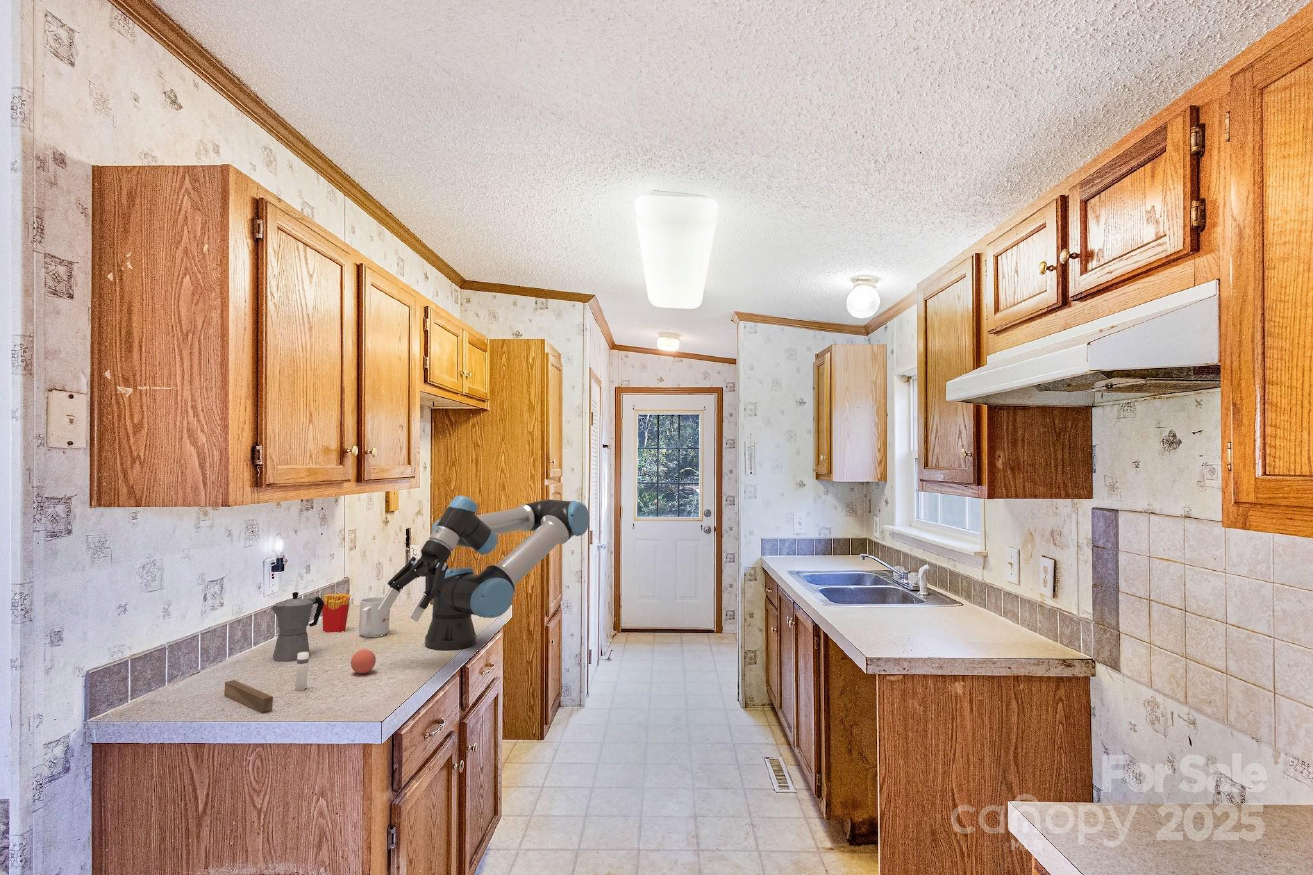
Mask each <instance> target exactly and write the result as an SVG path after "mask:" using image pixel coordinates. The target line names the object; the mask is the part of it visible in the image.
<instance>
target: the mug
mask: <svg viewBox="0 0 1313 875" xmlns="http://www.w3.org/2000/svg"><path fill="white" fill-rule="evenodd" d="M384 598H385V596H383V597H382V596H375V597H365V598H362V599H360V605H359V622H358V623H359V624H358V634H359V635H360V636H361V635H362V636H365V637H364V638H367V637H374V636H381V635H384V636H386V635H385V634H388V633H389V630H390V617H391V616H390V613H391V608H390V609H389V611H388V613H387V614H384V613H382V612H381V611H379V610H378V608H379V606H380V605H381V603H382V602H383V600H384ZM362 636H361V637H362ZM381 637H382V636H381ZM374 638H375V637H374Z"/></svg>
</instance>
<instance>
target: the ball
mask: <svg viewBox="0 0 1313 875" xmlns="http://www.w3.org/2000/svg"><path fill="white" fill-rule="evenodd" d="M376 663H377V658H376V655H375V653H374V652H373V651H372V650H369V649H366V648H365V649H360V650H358V651H356V652H355V653H354V654H353V655H352V657H351V658H350V667H351V669H352V670H353V672H355V673H357V674H360V675H361V674H366V673H369V672H370V671H371V670H372V669H374V667H375V665H376Z"/></svg>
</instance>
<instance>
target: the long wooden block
mask: <svg viewBox="0 0 1313 875" xmlns="http://www.w3.org/2000/svg"><path fill="white" fill-rule="evenodd" d="M223 693H224V694H223V695H224V696H225V697H227V698H230V699H231V700H233V701H236V702H238V703H239V704H242V705H244V706H246V707H248V708H251V709H252V708H253V710H255V711H257V712H259V711H260V712H259V713H261V714H265V713H267V712H266V711H269V712H271V711H270V710H272V711H273V705H274V704H273V703H274V696H272V695H271V694H268V693H265V692H264V691H261V690H258V688H255V687H252V686H249V685H247V684H244V683H243V682H240V681H238V680H236V679H232V680H229V681H225V682H224V692H223ZM264 712H265V713H264Z"/></svg>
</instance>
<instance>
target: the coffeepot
mask: <svg viewBox="0 0 1313 875" xmlns="http://www.w3.org/2000/svg"><path fill="white" fill-rule="evenodd" d="M299 594H300V592H298V591H295V592H294V591H293V592H292V594H291V595H292V598H290V599H286V600H282V601H278V602H276V603H275V605H272V606H270V610H272V611H273V613H274V614H275V616H276V618H277V626H278V629H279V632H278V633H279V634H277V637H276V638H277V639H276V642H275V645H274V650H273V654H272V657H273V660H274V661H276V662H294V661H297V656H298V653H300V652H309V656H311V653H310V643H309V637H308V632H307V627H308V626H309V627H315V626H317V625H318V622H319V619H320V616H321V615H322V608H323V606H324V599H322V598H321V597H320V596H316V597H310V598H309V597H308V598H306V599H305V598H298V597H299ZM316 604H317V606H316V610H315V614H314V615H313V621H312V622H311V623H309V622H310V619H311V615H312V610H313V606H314V605H316Z"/></svg>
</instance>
